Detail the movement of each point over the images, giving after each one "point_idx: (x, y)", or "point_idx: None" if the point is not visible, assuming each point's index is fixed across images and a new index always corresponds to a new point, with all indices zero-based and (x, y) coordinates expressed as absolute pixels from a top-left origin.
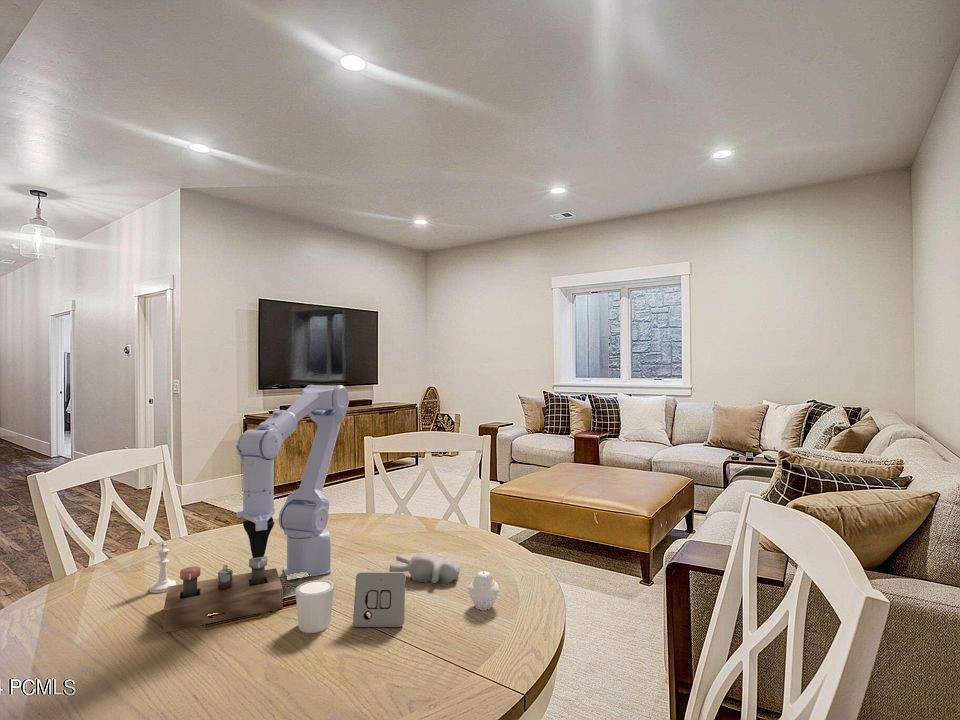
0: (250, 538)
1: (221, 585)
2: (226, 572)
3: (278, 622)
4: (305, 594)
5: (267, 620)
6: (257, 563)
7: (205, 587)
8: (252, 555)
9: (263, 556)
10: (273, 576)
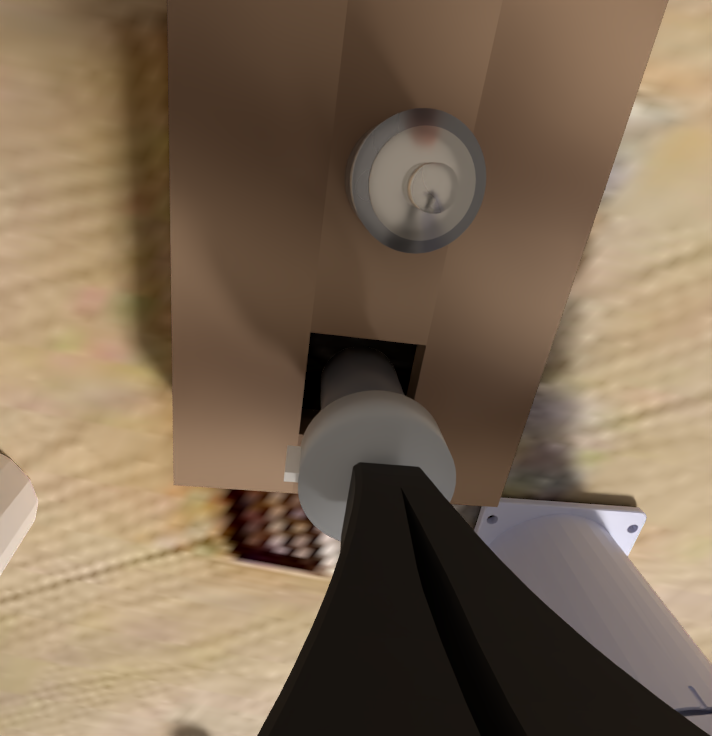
0: (296, 664)
1: (359, 141)
2: (368, 188)
3: (54, 377)
4: None
5: (99, 339)
6: (302, 462)
7: (496, 30)
8: (360, 473)
9: None
10: None
